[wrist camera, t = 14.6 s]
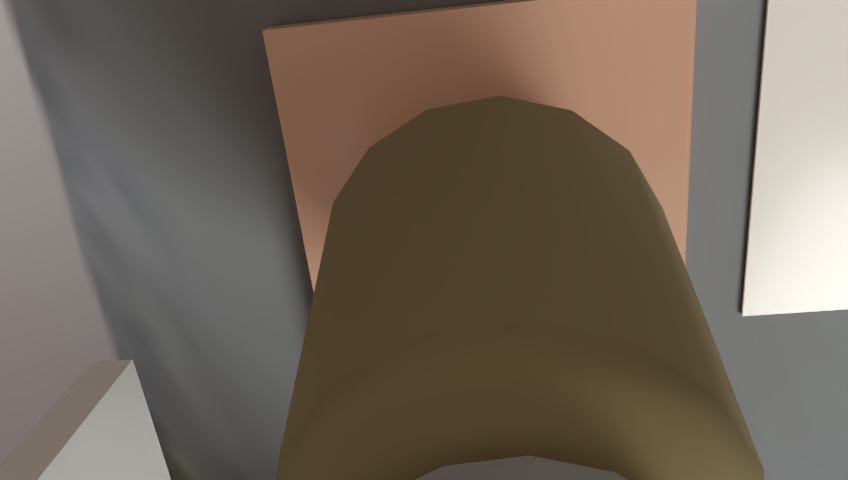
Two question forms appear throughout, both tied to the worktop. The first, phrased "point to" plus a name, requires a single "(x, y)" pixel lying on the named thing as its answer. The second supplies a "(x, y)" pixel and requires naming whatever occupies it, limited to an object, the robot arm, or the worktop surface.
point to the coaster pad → (484, 85)
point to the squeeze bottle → (507, 316)
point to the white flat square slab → (800, 163)
